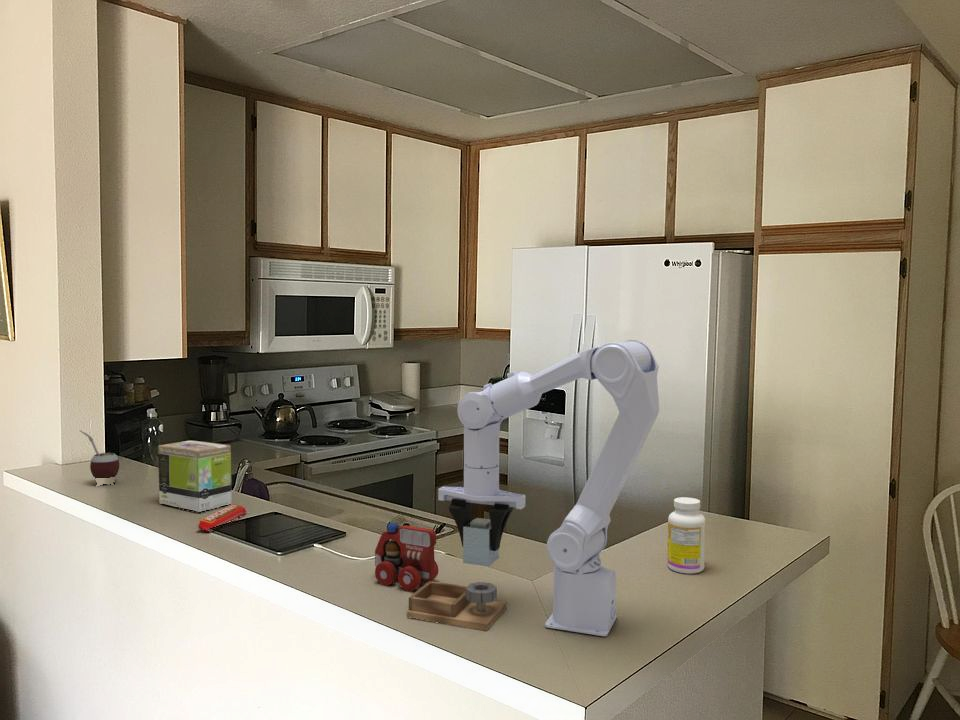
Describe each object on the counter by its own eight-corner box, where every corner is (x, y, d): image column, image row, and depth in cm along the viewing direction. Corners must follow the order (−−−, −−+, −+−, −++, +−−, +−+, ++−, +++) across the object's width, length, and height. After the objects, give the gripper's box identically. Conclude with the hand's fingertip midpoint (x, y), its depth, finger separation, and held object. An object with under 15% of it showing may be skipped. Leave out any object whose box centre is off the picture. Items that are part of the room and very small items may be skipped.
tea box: (233, 505, 187) (232, 444, 186) (198, 514, 179) (196, 450, 178) (193, 496, 195) (191, 438, 194) (157, 505, 187) (156, 444, 186)
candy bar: (210, 535, 164) (210, 521, 163) (194, 534, 164) (194, 520, 164) (249, 515, 179) (248, 502, 179) (234, 514, 180) (234, 501, 180)
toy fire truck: (390, 570, 142) (389, 514, 141) (446, 583, 136) (446, 524, 135) (365, 581, 136) (365, 523, 136) (422, 595, 130) (422, 534, 129)
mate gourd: (125, 482, 210) (124, 427, 209) (102, 489, 202) (100, 432, 201) (104, 480, 212) (103, 425, 211) (80, 486, 205) (78, 430, 204)
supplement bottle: (679, 560, 148) (681, 493, 147) (711, 568, 143) (712, 500, 142) (660, 568, 143) (661, 500, 142) (692, 577, 139) (694, 506, 138)
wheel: (500, 594, 122) (500, 584, 122) (490, 605, 118) (490, 594, 118) (472, 590, 124) (472, 580, 124) (461, 600, 119) (461, 590, 119)
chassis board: (506, 608, 124) (506, 585, 124) (486, 630, 116) (486, 605, 116) (430, 597, 129) (431, 574, 129) (406, 617, 120) (406, 593, 120)
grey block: (498, 558, 128) (499, 518, 128) (489, 566, 124) (489, 526, 124) (473, 554, 130) (473, 515, 130) (463, 562, 126) (463, 522, 125)
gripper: (531, 464, 127) (530, 545, 128) (450, 457, 132) (450, 535, 133) (517, 472, 120) (516, 558, 121) (432, 465, 126) (432, 547, 127)
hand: (480, 547), depth 127 cm, fingers closed on grey block, 4 cm apart
